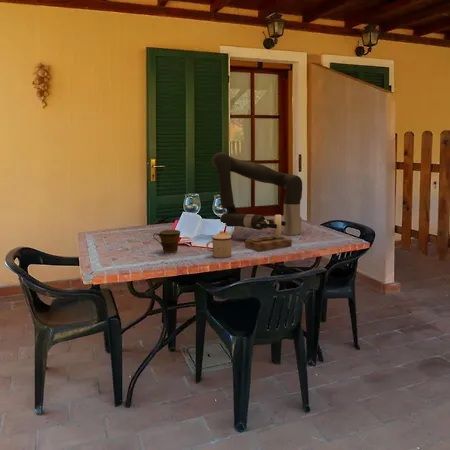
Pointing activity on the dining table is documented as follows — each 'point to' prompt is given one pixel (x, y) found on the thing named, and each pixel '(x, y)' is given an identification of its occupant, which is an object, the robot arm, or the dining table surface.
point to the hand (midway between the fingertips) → (281, 225)
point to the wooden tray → (267, 243)
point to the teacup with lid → (221, 245)
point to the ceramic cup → (169, 240)
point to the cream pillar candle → (278, 227)
